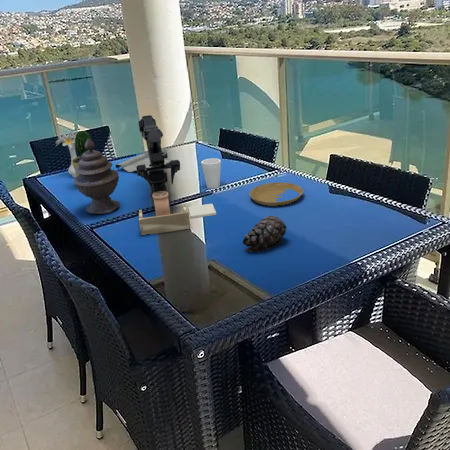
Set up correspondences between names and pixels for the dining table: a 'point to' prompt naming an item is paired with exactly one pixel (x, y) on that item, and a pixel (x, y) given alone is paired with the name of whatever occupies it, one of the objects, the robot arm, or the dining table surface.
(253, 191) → the plant saucer
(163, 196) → the terracotta pot
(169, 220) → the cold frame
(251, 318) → the dining table surface
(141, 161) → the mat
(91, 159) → the decorative urn
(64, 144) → the flower vase
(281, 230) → the pine cone
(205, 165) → the foam cup
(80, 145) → the potted cactus
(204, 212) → the stone tile
